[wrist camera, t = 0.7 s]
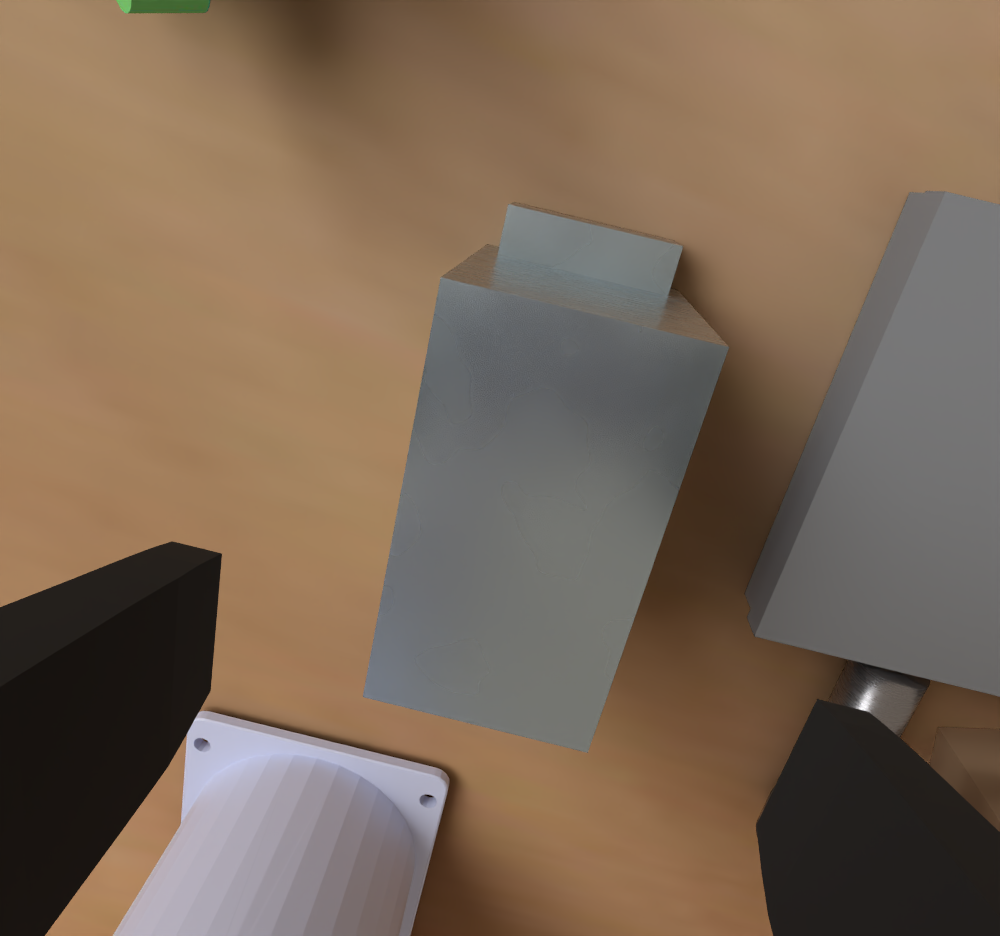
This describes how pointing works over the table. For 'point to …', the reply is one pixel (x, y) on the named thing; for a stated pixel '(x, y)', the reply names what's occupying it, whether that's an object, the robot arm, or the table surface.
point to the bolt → (878, 694)
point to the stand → (903, 468)
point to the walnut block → (971, 766)
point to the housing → (540, 475)
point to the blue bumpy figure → (164, 6)
